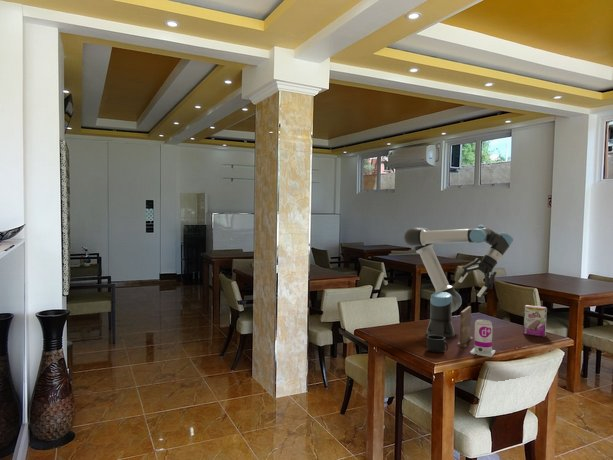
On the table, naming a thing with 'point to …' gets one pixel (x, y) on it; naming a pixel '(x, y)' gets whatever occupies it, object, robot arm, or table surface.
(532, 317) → the candy bar box
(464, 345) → the screen
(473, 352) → the tile
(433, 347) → the mug
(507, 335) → the table surface
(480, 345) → the supplement can
